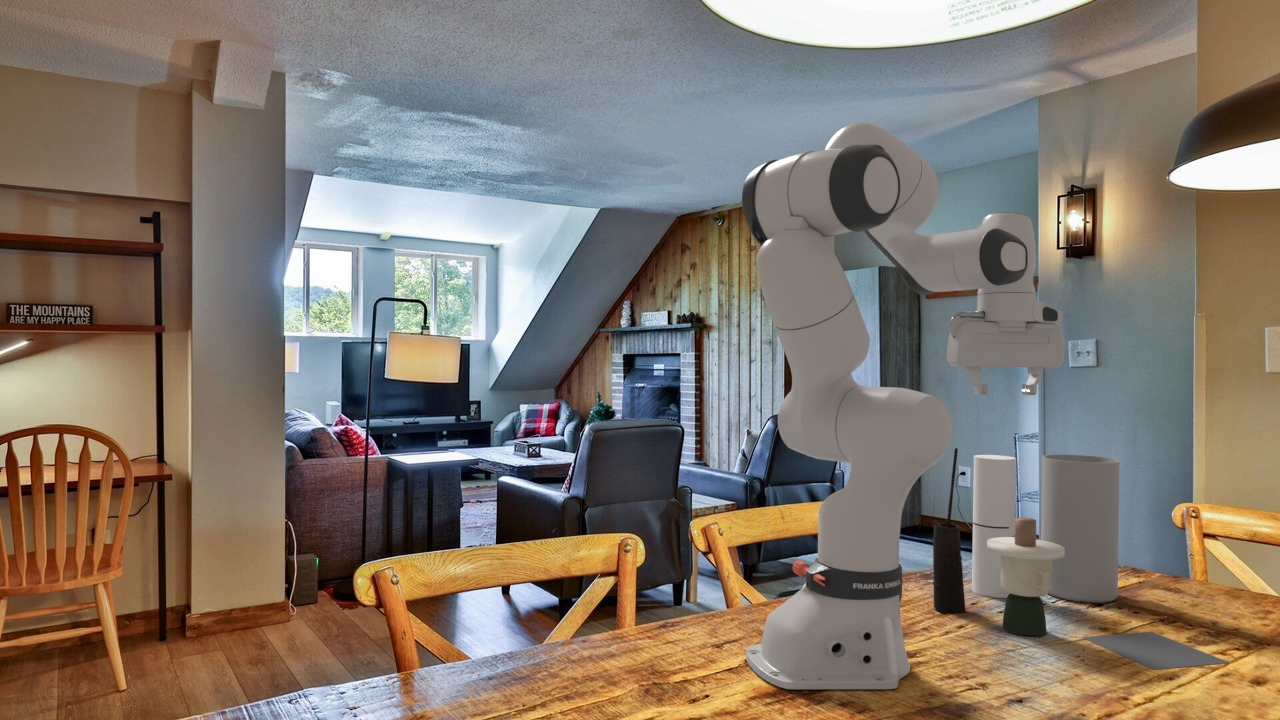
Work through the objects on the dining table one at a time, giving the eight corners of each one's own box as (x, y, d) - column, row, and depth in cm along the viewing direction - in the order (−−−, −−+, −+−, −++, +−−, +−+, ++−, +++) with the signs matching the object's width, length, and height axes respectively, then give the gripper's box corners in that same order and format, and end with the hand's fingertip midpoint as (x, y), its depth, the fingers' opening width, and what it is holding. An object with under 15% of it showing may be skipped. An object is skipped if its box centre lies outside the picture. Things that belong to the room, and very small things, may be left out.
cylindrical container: (964, 586, 152) (966, 454, 152) (1000, 586, 153) (1002, 454, 153) (984, 598, 145) (986, 459, 145) (1022, 597, 146) (1024, 459, 146)
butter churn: (903, 602, 142) (905, 443, 142) (951, 598, 144) (953, 442, 144) (934, 618, 133) (936, 449, 133) (984, 615, 135) (986, 448, 135)
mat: (1153, 673, 111) (1153, 669, 111) (1081, 641, 123) (1081, 637, 123) (1229, 666, 113) (1229, 662, 113) (1151, 635, 126) (1151, 631, 126)
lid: (1018, 561, 120) (1019, 527, 120) (972, 544, 130) (972, 513, 130) (1081, 558, 122) (1082, 525, 122) (1030, 541, 133) (1031, 511, 133)
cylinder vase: (1132, 604, 142) (1134, 463, 142) (1061, 603, 142) (1063, 462, 142) (1093, 584, 155) (1095, 454, 154) (1028, 583, 155) (1029, 454, 155)
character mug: (1068, 645, 121) (1070, 559, 121) (1026, 647, 120) (1027, 560, 120) (1022, 621, 132) (1023, 542, 132) (982, 623, 131) (984, 543, 131)
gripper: (962, 309, 129) (961, 395, 129) (1071, 312, 133) (1070, 395, 133) (939, 311, 135) (938, 394, 135) (1044, 314, 140) (1043, 394, 140)
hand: (1004, 395), depth 134 cm, fingers open, 8 cm apart
